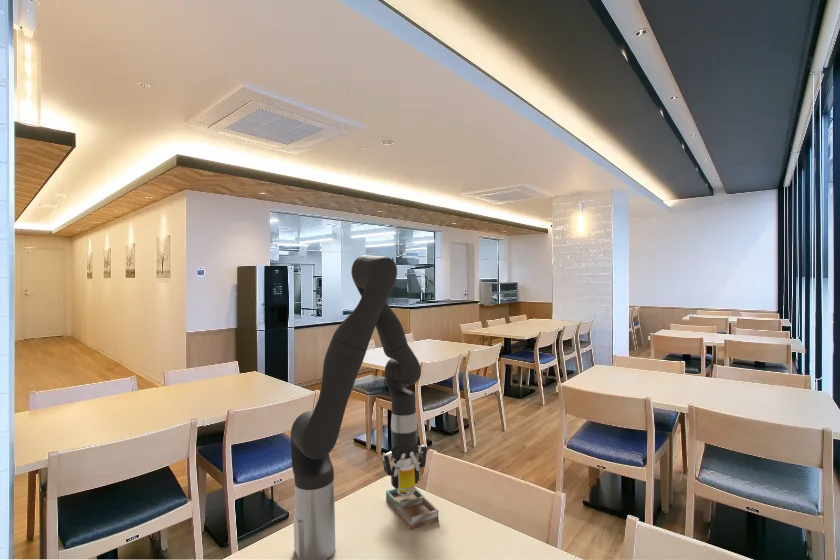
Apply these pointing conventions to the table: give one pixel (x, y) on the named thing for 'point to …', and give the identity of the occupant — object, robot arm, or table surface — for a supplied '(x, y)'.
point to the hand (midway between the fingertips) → (405, 484)
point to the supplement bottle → (406, 478)
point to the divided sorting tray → (412, 508)
